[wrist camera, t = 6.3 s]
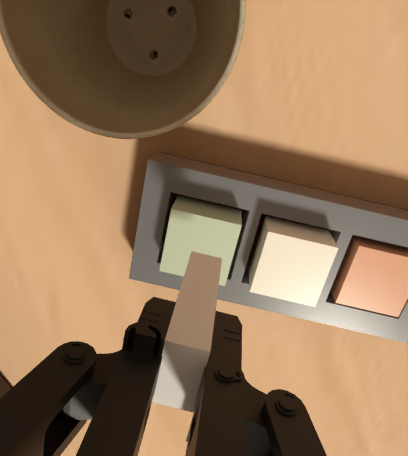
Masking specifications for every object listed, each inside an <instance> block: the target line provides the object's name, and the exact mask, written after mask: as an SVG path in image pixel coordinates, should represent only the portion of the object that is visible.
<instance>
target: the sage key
mask: <svg viewBox="0 0 408 456" xmlns="http://www.w3.org/2000/svg"><path fill="white" fill-rule="evenodd" d="M241 227H242V210H238V209H234V208H229V207H225V206H221V205H217V204H212V203H208V202H204V201H200V200H195V199H191V198H187V197H182V196H177V198H176V200H175V202H174V204H173V206H172V209H171V213H170V218H169V223H168V228H167V234H166V239H165V244H164V249H163V254H162V259H161V264H160V270H159V271H162V272H166V273H170V274H175V275H179V276H183V277H184V274H185V271H186V268H187V264H188V261H189V258H190V254H191V251H193V252H198V253H202V254H206V255H210V256H214V257H218V258H222V263H221V271H220V279H219V285H222V286H225V284H226V281H227V277H228V274H229V270H230V266H231V263H232V259H233V255H234V252H235V248H236V245H237V241H238V237H239V234H240V230H241Z"/></svg>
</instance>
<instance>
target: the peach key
mask: <svg viewBox="0 0 408 456" xmlns="http://www.w3.org/2000/svg"><path fill="white" fill-rule="evenodd" d="M330 291H331V293H332V295H333V298H334V300H335V303H339V304H343V305H348V306H352V307H356V308H360V309H365V310H369V311H373V312H378V313H382V314H386V315H390V316H395V317H399V315H400V313H401V311H402V309H403V307H404V305H405V303H406V301H407V299H408V248H407V247H403V246H399V245H394V244H390V243H386V242H382V241H377V240H373V239H369V238H364V237H360V236H356V235H352V238H351V240H350V242H349V245H348V247H347V250H346V252H345V255H344V257H343V260H342V262H341V265H340V267H339V270H338V272H337V275H336V277H335V280H334V282H333V284H332V287H331V289H330Z"/></svg>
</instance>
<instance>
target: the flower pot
mask: <svg viewBox="0 0 408 456" xmlns="http://www.w3.org/2000/svg"><path fill="white" fill-rule="evenodd" d="M171 7H173V10H172V11H171V12H168V10H169V8H171ZM245 13H246V0H0V33H1V36H2V39H3V41H4V44H5V46H6V49H7V51H8V53H9V55H10V58H11V59H12V61H13V63H14V65H15V67H16V68H17V70H18V72H19V73H20V75H21V76H22V78H23V79H24V80H25V82H26V83H27V85H28V86H29V87H30V88H31V90H32V91H33V92H34V93H35V94H36V95H37V97H38V98H39V99H40V100H41V101H42V102H44V103H45V104H46V105H47V106H48V107H49V108H50V109H51V110H53V111H54V112H55V113H57V114H58V115H59V116H61V117H62V118H63V119H65V120H67V121H68V122H70V123H72V124H74V125H75V126H78V127H80V128H82V129H84V130H86V131H89V132H92V133H95V134H98V135H102V136H106V137H112V138H119V139H137V138H146V137H151V136H156V135H159V134H162V133H165V132H168V131H171V130H173V129H175V128H177V127H179V126H181V125H183V124H184V123H186V122H187V121H189V120H190V119H192V118H193V117H194V116H196V115H197V114H198V113H200V112H201V111H202V110H203V109H204V108H205V107H206V106H207V104H209V103H210V101H211V100H212V99H213V98H214V97H215V96H216V94H217V93H218V92H219V90H220V89H221V87H222V85H223V84H224V82H225V81H226V79H227V77H228V75H229V73H230V71H231V69H232V67H233V65H234V62H235V60H236V57H237V54H238V51H239V47H240V44H241V40H242V35H243V30H244V24H245ZM126 14H128V15H129V16H130V18H127V17H126V16H125V15H126ZM155 51H156V52H157V54H158V56H157V58H156V57H155V55H154V53H155Z"/></svg>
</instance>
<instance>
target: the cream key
mask: <svg viewBox="0 0 408 456" xmlns="http://www.w3.org/2000/svg"><path fill="white" fill-rule="evenodd" d="M337 251H338V246H337V244H336V242H335V241H334V239H333V237H332V235H331V234H330V232H329V231H328V230H324V229H319V228H315V227H311V226H306V225H302V224H298V223H294V222H289V221H285V220H281V219H277V218H272V217H268V216H265V219H264V222H263V225H262V229H261V232H260V235H259V239H258V242H257V245H256V249H255V252H254V255H253V259H252V262H251V265H250V269H249V289H250V292H252V293H256V294H261V295H265V296H269V297H274V298H278V299H282V300H286V301H291V302H295V303H299V304H304V305H308V306H312V307H316V304H317V302H318V299H319V296H320V294H321V291H322V289H323V286H324V284H325V281H326V279H327V276H328V274H329V271H330V269H331V266H332V264H333V261H334V258H335V256H336V253H337Z"/></svg>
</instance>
